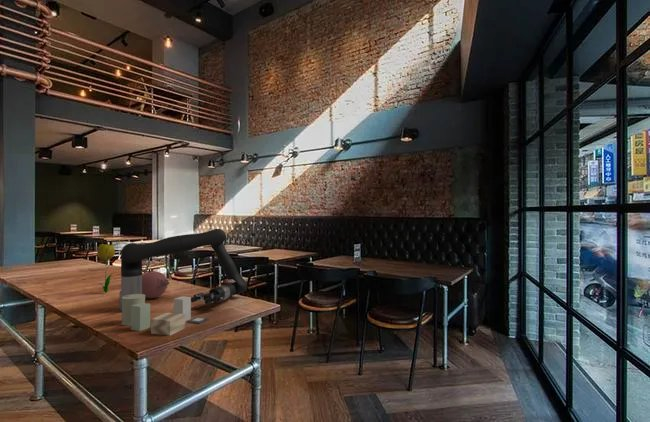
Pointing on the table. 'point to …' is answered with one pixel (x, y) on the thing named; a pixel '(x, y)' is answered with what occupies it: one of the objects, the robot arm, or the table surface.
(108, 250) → the flower
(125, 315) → the can
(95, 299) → the table surface
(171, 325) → the base block
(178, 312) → the grey block
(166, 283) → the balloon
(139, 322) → the sage block
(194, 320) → the card
